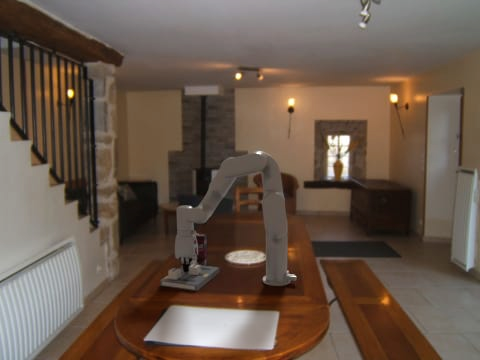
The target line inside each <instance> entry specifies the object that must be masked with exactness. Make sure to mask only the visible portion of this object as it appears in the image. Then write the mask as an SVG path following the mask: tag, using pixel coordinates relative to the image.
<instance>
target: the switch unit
mask: <svg viewBox="0 0 480 360" xmlns="http://www.w3.org/2000/svg"><path fill="white" fill-rule="evenodd" d="M177 269H181V277H180V278H178V279H177V280H174V279H169V278H168V275H165V277H163V278H162V279H160V281H159V283H160V284H159V285H160V287H167V288H173V289H180V290H187V291H193V292H194V291H195V292H199V290H200V289H202V288H203V287H204V286H205V285H206V284H207V283H208V282H210V281H211V280H212V279H214V278H215V277H216V276H217V275H218V274H219V273H220V266H219V267H217V266H211V265H210V266H208V265H205V266H202V265H201V273H199V274H198V275H191V274H189V271H188V272H183V265H182V266H180V267H178V268H177Z"/></svg>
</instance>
